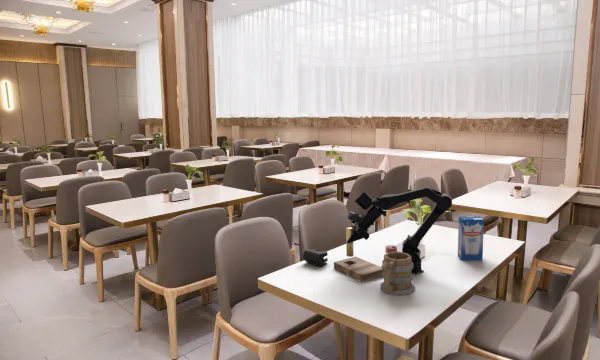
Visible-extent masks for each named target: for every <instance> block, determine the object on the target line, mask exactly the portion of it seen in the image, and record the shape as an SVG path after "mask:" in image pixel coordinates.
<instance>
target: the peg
mask: <svg viewBox="0 0 600 360" xmlns="http://www.w3.org/2000/svg"><path fill="white" fill-rule="evenodd" d="M352 234H353V227H351V226H348V227H345V242H346V244H345V245H346V247H345V248H346V256H347V257H348V258H352V257H355V256H354V242H352V243H349V244H348V243H347V241H348V239H349V238H350V236H351V235H352Z"/></svg>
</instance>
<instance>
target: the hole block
mask: <svg viewBox="0 0 600 360" xmlns="http://www.w3.org/2000/svg"><path fill="white" fill-rule="evenodd" d="M334 268H335V270H336V269H337V271H338V270H339V272H340V271H341V273H342V274H345V275H347V274H348V275H347V276H348V277H350V278H353V279H355V280H358V281H359V282H362V283H364V282H366V280H367V281H370V280H373V278H374V279H377V278H381V277H382V272H384V269H382V267H381V266H380V265H377V264H374V263H372V262H370V261H367V260H365V259H362V258H361V257H357V256H352V257H348V258H344V259H342V260H337V261H334V262H333V269H334ZM363 281H364V282H363Z"/></svg>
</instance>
